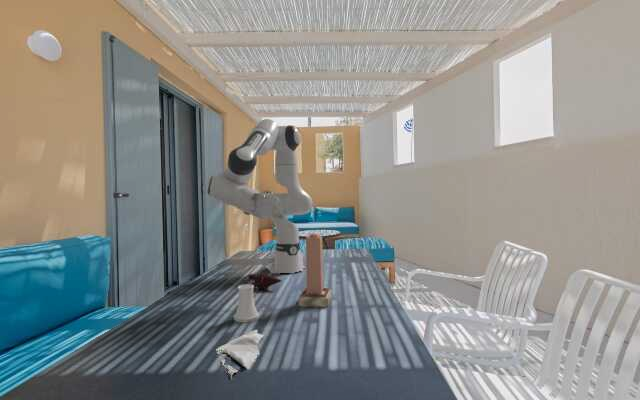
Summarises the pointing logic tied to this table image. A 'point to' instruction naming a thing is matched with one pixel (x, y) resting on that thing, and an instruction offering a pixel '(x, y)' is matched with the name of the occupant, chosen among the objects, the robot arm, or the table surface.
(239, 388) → the table surface
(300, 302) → the base
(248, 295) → the vase
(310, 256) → the pillar
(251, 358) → the cloth
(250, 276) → the icecream
